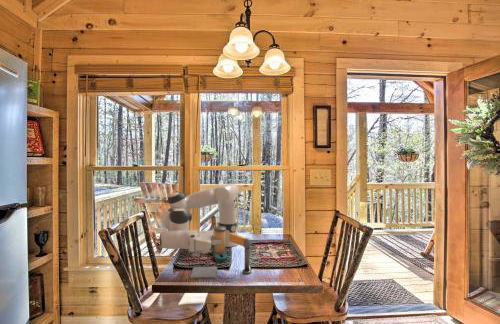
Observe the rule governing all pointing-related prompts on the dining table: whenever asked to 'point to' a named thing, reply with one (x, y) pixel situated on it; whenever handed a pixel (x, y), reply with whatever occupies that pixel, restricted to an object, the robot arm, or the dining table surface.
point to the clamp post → (247, 262)
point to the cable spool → (220, 234)
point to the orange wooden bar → (239, 240)
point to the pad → (203, 272)
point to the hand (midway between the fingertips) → (221, 239)
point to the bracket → (219, 256)
